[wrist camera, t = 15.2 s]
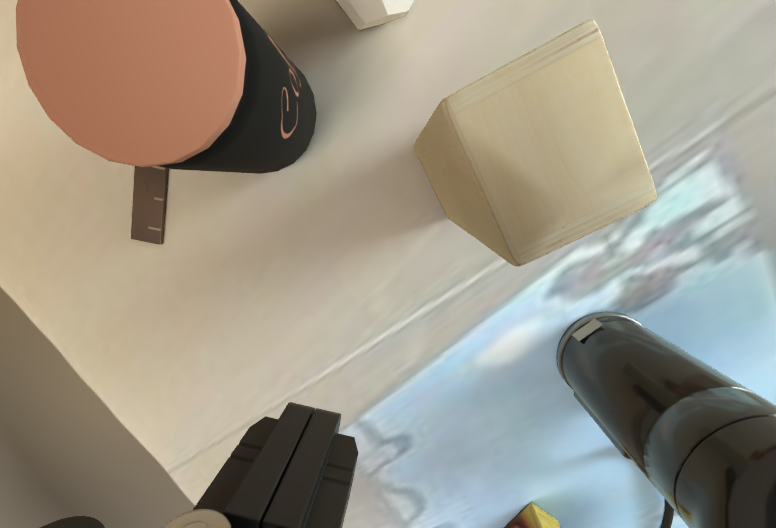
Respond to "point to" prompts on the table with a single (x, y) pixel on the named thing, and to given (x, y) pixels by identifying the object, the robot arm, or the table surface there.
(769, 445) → the robot arm
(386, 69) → the table surface
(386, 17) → the crystal
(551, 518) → the candy box
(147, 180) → the walnut ruler
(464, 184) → the beige tall block
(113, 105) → the coffee jar
